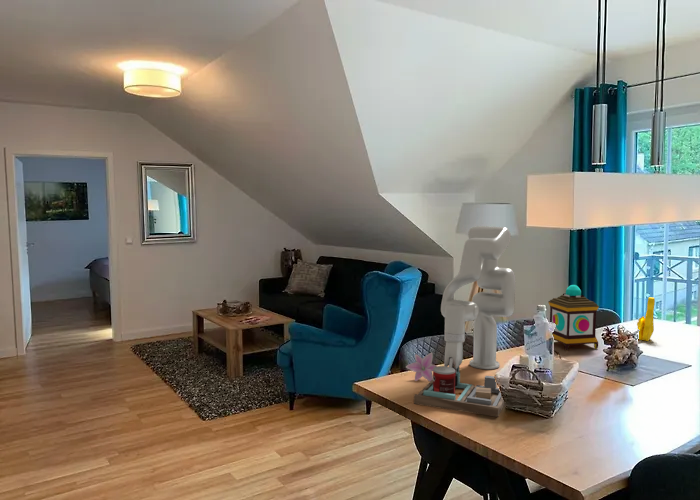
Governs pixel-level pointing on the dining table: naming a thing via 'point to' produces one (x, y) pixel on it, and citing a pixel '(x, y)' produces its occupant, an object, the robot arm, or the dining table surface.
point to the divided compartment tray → (458, 403)
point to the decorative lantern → (574, 318)
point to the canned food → (444, 379)
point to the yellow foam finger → (647, 321)
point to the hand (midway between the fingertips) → (453, 383)
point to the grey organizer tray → (487, 384)
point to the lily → (422, 367)
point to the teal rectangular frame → (447, 395)
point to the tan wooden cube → (483, 393)
